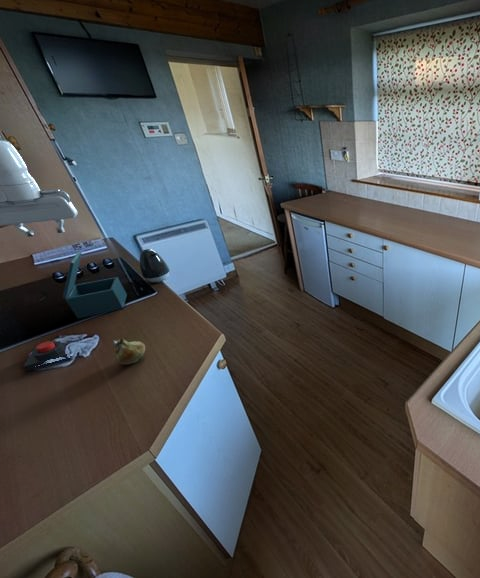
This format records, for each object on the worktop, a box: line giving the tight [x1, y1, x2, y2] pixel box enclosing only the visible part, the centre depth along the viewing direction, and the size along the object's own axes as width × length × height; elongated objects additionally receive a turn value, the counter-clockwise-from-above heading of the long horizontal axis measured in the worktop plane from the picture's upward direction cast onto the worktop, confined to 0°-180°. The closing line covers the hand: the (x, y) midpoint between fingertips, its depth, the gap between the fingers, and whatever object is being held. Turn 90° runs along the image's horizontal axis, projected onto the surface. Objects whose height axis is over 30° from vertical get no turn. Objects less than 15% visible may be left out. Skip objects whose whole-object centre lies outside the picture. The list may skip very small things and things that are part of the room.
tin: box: [64, 276, 128, 320], centre depth 115 cm, size 14×12×9 cm
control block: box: [22, 339, 75, 372], centre depth 92 cm, size 10×8×4 cm
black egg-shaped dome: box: [139, 248, 170, 283], centre depth 132 cm, size 10×10×15 cm
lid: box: [62, 250, 83, 299], centre depth 108 cm, size 14×12×1 cm
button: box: [35, 340, 56, 353], centre depth 90 cm, size 4×4×2 cm
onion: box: [112, 338, 146, 366], centre depth 90 cm, size 8×8×8 cm
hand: (46, 234), depth 99 cm, fingers open, 6 cm apart
